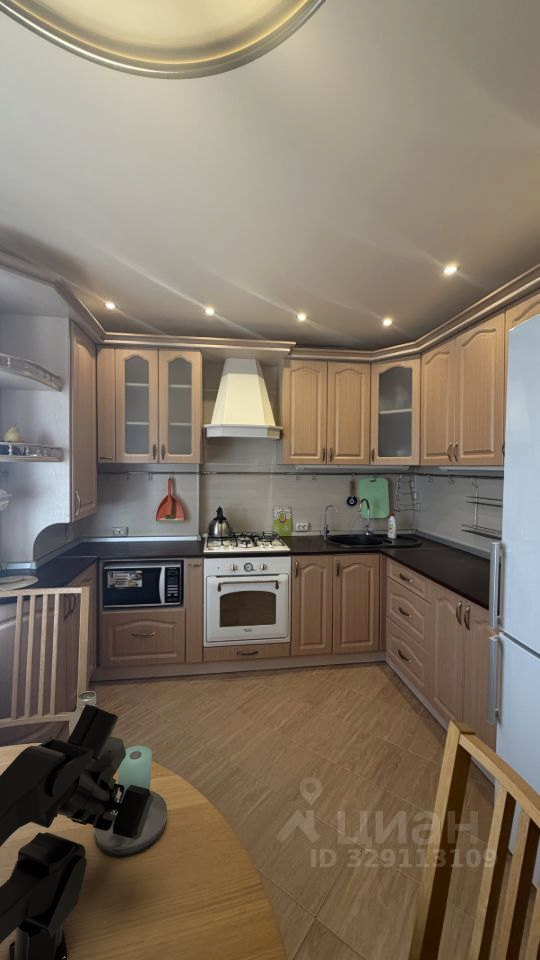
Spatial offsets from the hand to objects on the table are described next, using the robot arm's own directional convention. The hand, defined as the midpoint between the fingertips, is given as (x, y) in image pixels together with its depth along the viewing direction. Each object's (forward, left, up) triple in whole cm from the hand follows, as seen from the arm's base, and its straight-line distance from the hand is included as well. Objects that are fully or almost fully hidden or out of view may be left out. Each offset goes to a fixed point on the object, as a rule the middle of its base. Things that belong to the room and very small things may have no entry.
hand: (114, 811), depth 71 cm
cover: (+4, -5, -5) cm, 8 cm away
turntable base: (+4, -5, -7) cm, 9 cm away
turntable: (+4, -5, -6) cm, 8 cm away
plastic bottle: (+19, +1, -8) cm, 20 cm away
